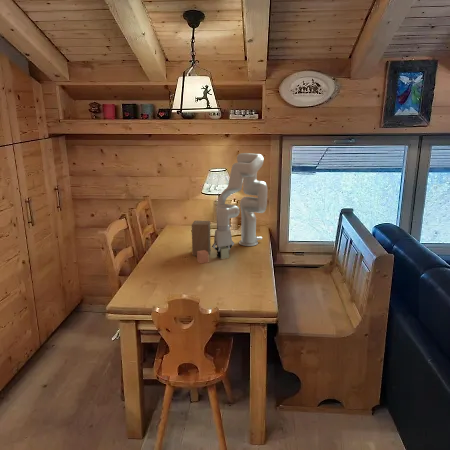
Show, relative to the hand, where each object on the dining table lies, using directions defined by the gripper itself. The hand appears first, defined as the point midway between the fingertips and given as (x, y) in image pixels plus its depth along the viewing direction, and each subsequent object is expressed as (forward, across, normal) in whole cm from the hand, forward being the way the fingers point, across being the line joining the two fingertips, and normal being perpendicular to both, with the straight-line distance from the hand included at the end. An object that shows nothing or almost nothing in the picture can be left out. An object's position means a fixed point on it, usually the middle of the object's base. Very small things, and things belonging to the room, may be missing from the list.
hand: (223, 256), depth 253 cm
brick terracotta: (+1, +14, +1) cm, 14 cm away
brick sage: (+1, 0, 0) cm, 1 cm away
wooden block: (+1, +9, -12) cm, 15 cm away
